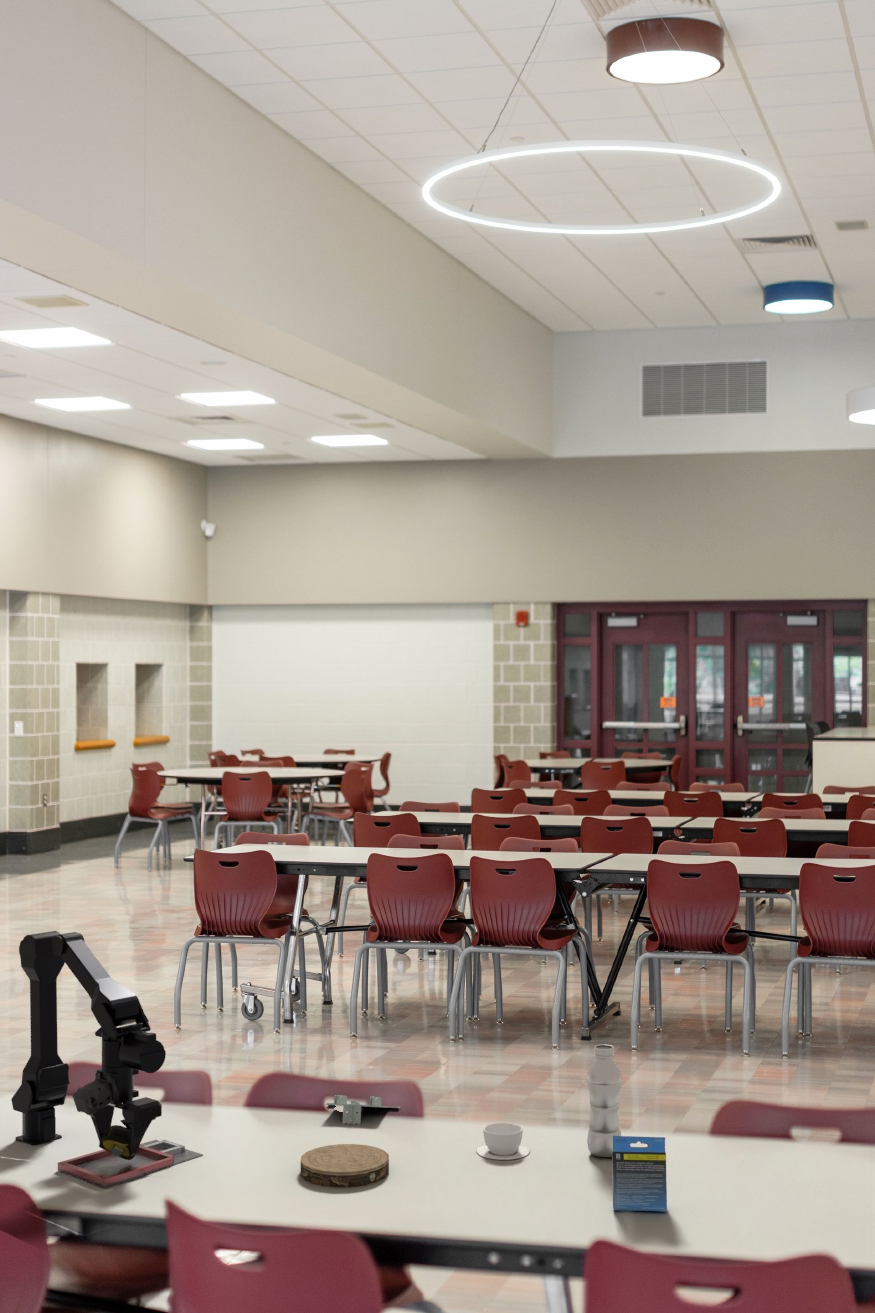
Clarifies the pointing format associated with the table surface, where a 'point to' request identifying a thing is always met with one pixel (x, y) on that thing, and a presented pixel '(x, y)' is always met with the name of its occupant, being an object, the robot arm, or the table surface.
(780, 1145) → the table surface
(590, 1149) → the plastic bottle
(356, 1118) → the metal bracket
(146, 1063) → the robot arm
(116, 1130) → the tape measure
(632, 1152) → the label tape cartridge
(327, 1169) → the wood slice
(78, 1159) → the fitting plate
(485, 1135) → the teacup
